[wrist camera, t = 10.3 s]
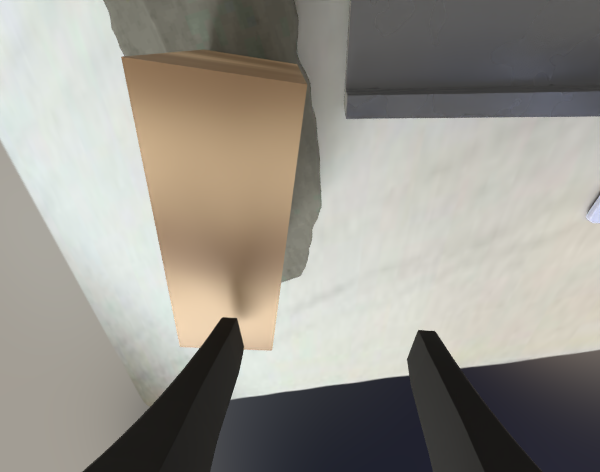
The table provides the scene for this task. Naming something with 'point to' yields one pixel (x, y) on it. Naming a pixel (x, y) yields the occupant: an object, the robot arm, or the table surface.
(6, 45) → the table surface
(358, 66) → the rack
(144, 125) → the oak board
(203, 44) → the stone slab
